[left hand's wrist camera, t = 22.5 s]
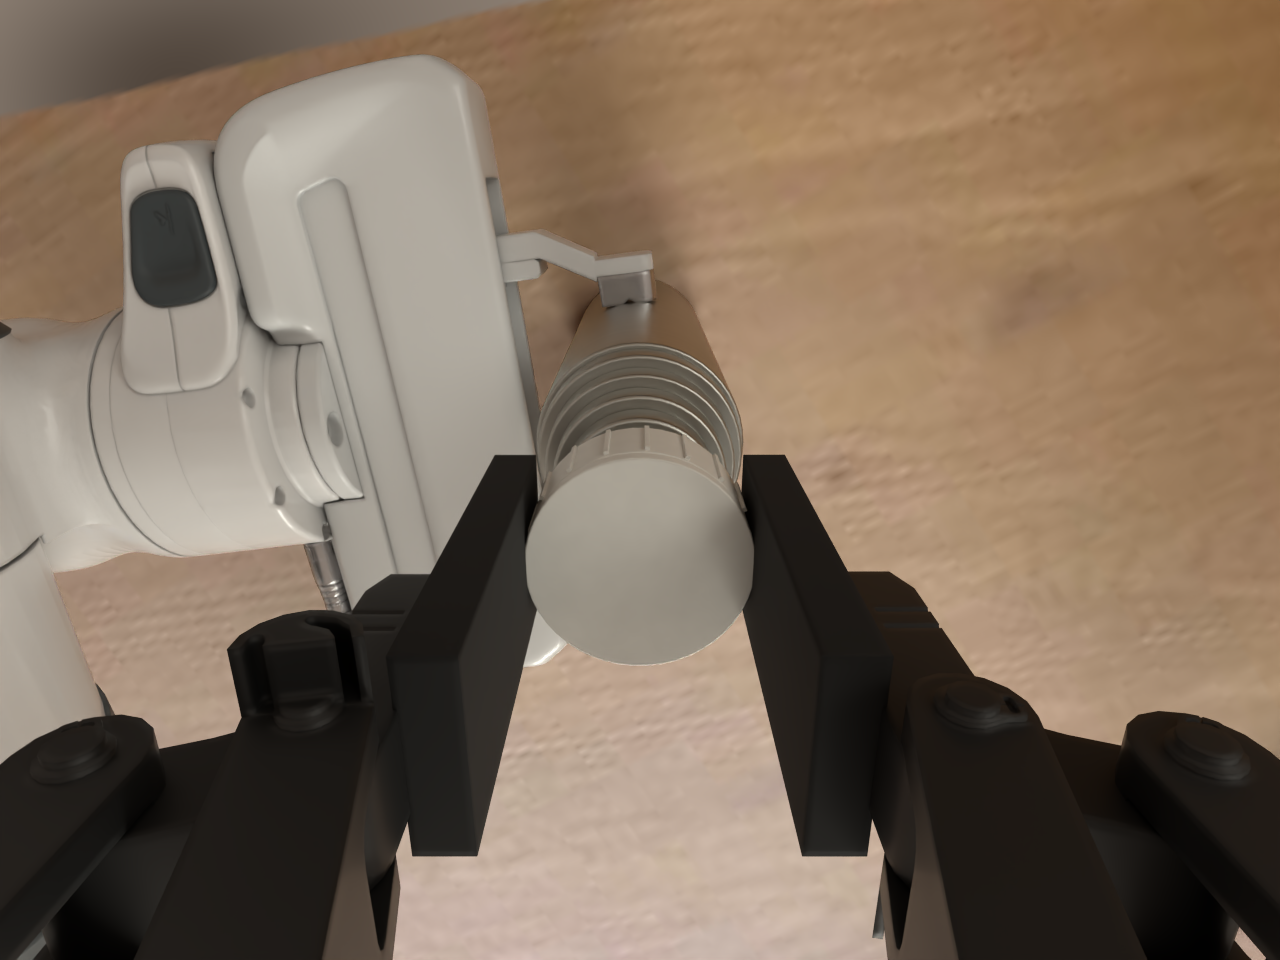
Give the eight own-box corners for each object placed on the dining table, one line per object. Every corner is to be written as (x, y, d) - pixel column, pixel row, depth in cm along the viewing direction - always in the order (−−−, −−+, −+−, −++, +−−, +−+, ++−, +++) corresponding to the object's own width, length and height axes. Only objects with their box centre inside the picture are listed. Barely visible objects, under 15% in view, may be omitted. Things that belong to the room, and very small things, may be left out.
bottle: (610, 418, 33) (572, 707, 15) (557, 309, 32) (442, 479, 13) (719, 370, 33) (824, 611, 14) (671, 256, 31) (719, 358, 12)
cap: (533, 613, 15) (520, 663, 14) (535, 416, 14) (522, 447, 12) (733, 624, 15) (744, 675, 14) (756, 430, 14) (772, 462, 12)
